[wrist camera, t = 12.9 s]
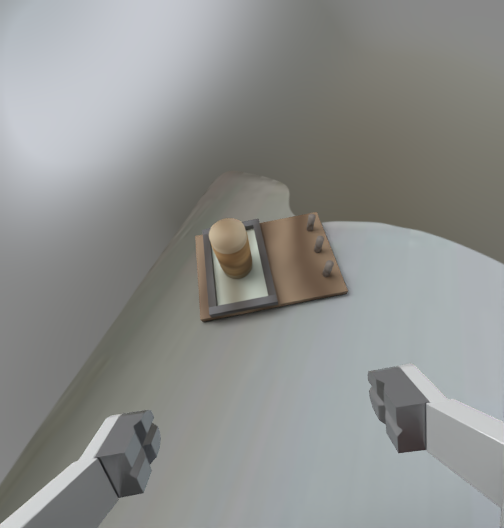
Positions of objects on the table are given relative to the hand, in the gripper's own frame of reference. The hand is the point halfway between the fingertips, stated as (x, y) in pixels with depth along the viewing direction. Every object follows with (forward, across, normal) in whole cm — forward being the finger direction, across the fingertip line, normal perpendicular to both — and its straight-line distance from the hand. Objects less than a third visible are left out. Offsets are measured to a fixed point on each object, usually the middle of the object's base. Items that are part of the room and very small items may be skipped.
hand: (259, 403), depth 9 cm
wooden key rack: (+28, -1, +3) cm, 28 cm away
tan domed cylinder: (+27, +3, +2) cm, 27 cm away
